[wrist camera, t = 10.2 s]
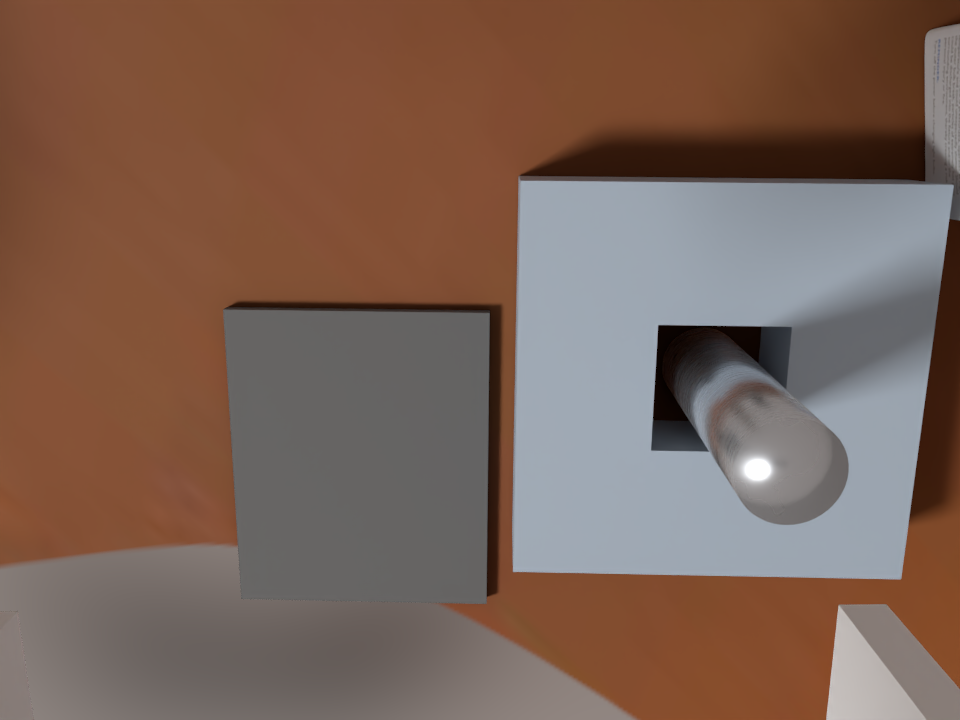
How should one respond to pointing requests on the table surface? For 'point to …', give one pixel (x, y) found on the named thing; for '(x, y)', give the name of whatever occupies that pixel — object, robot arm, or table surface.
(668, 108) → the table surface
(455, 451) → the mat
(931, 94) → the light bulb box
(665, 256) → the socket block
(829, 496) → the pin
